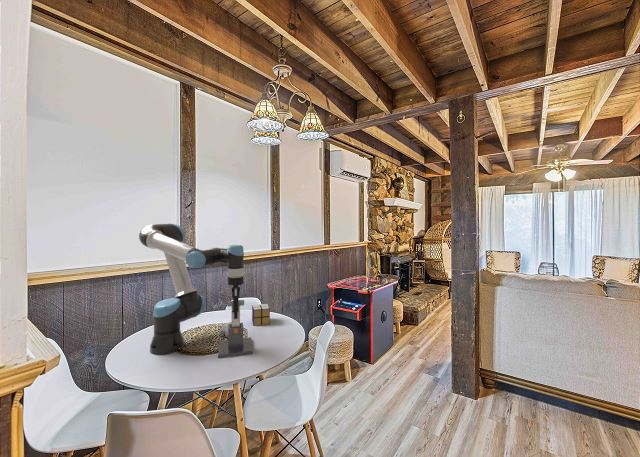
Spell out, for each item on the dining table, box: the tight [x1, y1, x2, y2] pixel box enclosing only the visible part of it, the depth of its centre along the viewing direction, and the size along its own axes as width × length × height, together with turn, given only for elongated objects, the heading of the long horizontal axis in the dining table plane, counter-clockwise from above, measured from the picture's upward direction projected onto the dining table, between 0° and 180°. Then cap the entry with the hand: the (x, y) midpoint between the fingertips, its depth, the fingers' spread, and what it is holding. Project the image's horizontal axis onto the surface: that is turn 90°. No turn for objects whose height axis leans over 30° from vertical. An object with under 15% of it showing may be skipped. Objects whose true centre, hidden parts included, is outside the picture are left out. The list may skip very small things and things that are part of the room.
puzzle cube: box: [251, 303, 271, 327], centre depth 179 cm, size 10×10×10 cm
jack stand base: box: [217, 322, 254, 359], centre depth 143 cm, size 16×16×12 cm
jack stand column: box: [226, 299, 245, 328], centre depth 143 cm, size 8×4×22 cm, turn 106°
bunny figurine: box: [218, 321, 232, 339], centre depth 162 cm, size 10×5×15 cm
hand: (235, 322), depth 143 cm, fingers open, 6 cm apart
